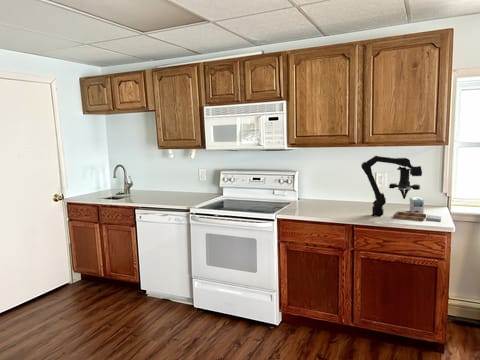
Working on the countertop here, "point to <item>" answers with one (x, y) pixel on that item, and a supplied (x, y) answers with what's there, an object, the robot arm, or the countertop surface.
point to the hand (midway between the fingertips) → (404, 198)
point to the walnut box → (409, 216)
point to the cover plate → (433, 218)
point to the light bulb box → (416, 205)
